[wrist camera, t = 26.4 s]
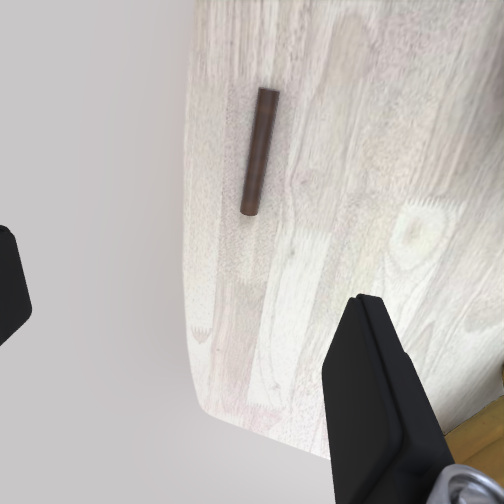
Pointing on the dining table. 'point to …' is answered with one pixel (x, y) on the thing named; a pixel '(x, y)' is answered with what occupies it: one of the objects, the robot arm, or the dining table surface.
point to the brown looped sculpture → (481, 440)
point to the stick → (259, 149)
